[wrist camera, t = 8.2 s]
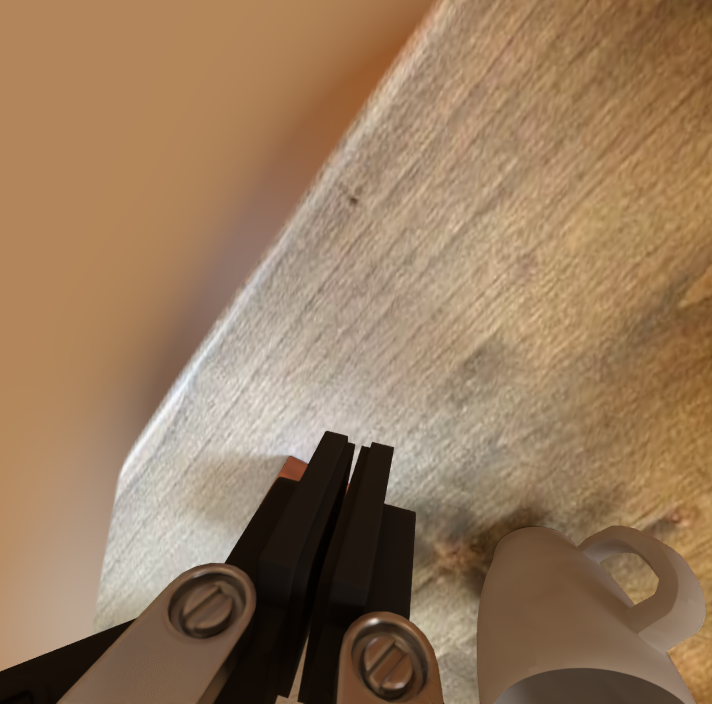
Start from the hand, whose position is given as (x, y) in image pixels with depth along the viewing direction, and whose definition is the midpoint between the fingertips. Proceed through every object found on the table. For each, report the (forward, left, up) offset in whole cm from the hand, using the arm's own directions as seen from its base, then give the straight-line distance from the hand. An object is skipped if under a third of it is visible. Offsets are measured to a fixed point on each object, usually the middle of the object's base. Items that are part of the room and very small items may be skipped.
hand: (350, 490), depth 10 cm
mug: (+15, -8, -14) cm, 22 cm away
